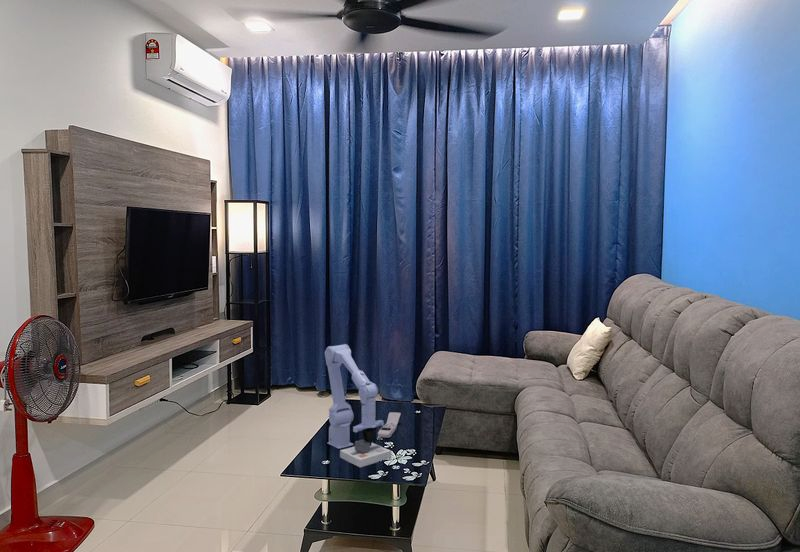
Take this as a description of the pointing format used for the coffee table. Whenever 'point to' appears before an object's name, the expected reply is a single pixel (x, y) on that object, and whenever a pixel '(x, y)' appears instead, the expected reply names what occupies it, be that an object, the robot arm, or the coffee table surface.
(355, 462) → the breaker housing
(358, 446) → the switch lever
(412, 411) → the coffee table surface
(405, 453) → the coffee table surface
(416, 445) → the coffee table surface
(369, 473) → the coffee table surface
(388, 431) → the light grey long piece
